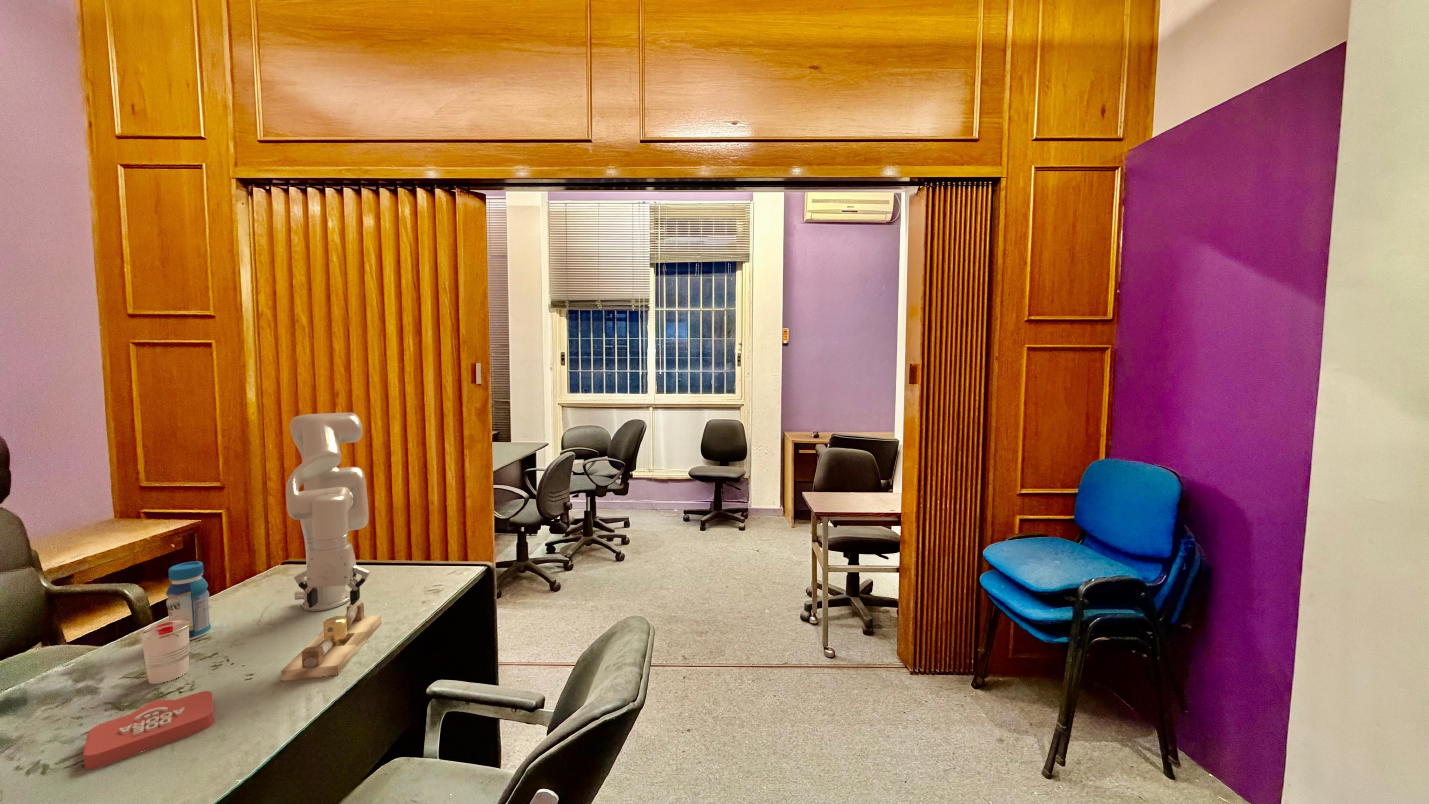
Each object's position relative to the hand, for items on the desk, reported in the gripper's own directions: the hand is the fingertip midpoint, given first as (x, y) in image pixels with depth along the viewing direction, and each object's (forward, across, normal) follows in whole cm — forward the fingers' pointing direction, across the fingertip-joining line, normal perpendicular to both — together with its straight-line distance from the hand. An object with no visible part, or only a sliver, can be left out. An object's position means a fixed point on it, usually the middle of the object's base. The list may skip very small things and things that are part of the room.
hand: (334, 603), depth 140 cm
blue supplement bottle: (+14, -42, +15) cm, 47 cm away
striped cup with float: (+13, -34, -6) cm, 36 cm away
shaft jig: (+12, 0, -1) cm, 12 cm away
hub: (+12, 0, -1) cm, 12 cm away
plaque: (+12, -22, -28) cm, 37 cm away
